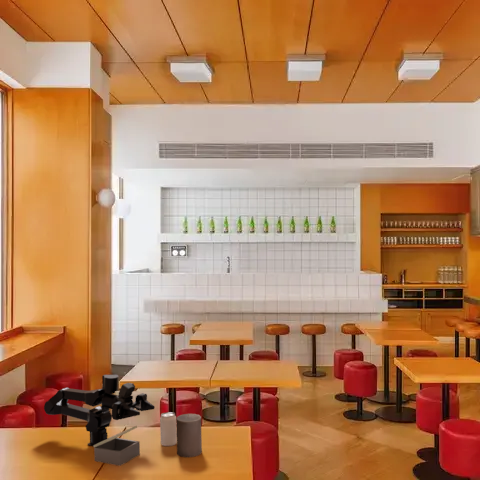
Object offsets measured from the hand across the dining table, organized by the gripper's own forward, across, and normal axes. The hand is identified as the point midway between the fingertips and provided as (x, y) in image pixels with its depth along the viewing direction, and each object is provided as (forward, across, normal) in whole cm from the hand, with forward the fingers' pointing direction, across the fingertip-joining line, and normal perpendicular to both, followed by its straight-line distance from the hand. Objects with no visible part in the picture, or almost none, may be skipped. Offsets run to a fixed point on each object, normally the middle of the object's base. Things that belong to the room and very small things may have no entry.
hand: (147, 410), depth 223 cm
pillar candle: (+16, +8, +15) cm, 23 cm away
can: (+3, +12, +16) cm, 20 cm away
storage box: (-6, -8, +18) cm, 20 cm away
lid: (-8, -8, +10) cm, 15 cm away
